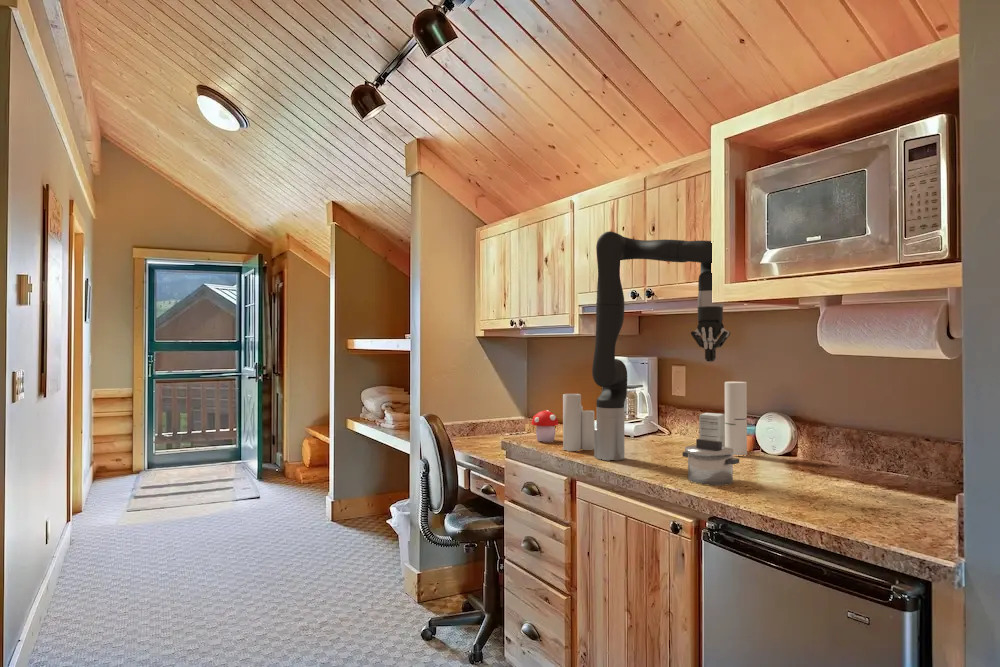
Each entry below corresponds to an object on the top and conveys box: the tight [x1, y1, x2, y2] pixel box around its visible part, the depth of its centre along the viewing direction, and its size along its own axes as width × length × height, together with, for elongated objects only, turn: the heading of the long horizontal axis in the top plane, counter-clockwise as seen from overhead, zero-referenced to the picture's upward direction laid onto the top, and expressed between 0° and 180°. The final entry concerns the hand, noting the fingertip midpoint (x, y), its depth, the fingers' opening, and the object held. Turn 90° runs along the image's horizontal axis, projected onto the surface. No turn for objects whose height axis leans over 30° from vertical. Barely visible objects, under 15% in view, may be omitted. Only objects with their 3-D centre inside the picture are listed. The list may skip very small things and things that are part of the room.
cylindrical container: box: [724, 381, 748, 456], centre depth 223 cm, size 7×7×25 cm
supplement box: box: [698, 412, 725, 447], centre depth 235 cm, size 7×7×13 cm
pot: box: [682, 451, 740, 486], centre depth 183 cm, size 16×14×8 cm
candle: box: [562, 393, 596, 452], centre depth 234 cm, size 11×7×20 cm, turn 107°
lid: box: [684, 438, 733, 457], centre depth 182 cm, size 13×13×3 cm
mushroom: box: [530, 409, 559, 443], centre depth 253 cm, size 11×11×12 cm
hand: (710, 361), depth 201 cm, fingers closed
